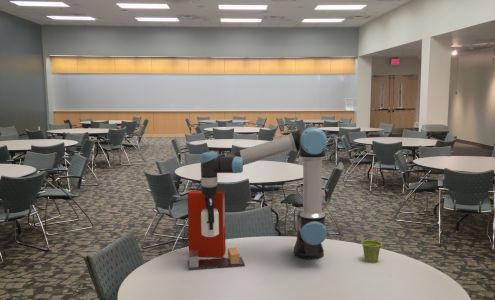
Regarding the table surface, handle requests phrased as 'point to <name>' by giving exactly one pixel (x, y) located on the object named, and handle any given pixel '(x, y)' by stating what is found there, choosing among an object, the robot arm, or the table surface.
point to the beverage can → (205, 225)
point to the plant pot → (371, 250)
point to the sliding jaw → (233, 255)
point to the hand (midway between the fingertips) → (210, 233)
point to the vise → (210, 262)
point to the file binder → (196, 239)
